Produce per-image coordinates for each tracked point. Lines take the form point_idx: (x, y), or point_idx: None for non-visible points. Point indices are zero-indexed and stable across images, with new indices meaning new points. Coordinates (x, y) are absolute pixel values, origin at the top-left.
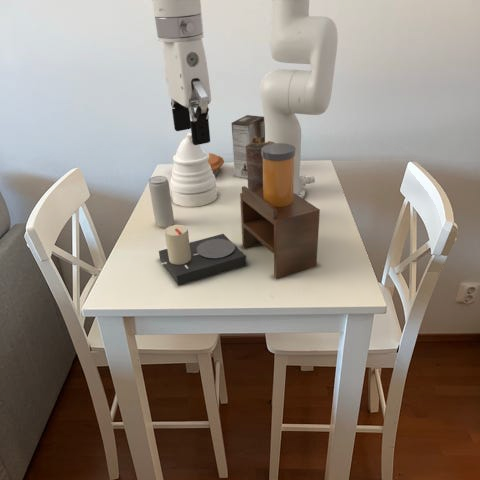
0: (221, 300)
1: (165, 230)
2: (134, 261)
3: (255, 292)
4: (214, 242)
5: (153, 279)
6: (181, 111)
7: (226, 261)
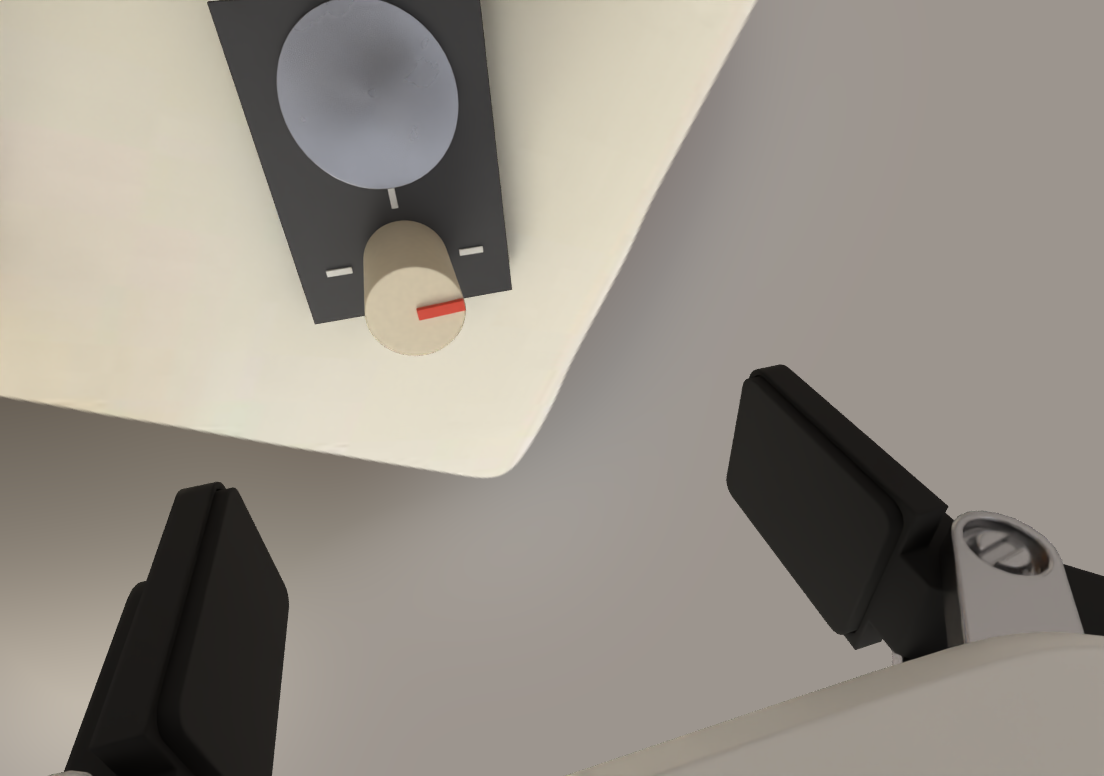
0: (635, 166)
1: (406, 352)
2: (297, 384)
3: (652, 34)
4: (314, 89)
5: None
6: (228, 744)
7: (489, 90)
